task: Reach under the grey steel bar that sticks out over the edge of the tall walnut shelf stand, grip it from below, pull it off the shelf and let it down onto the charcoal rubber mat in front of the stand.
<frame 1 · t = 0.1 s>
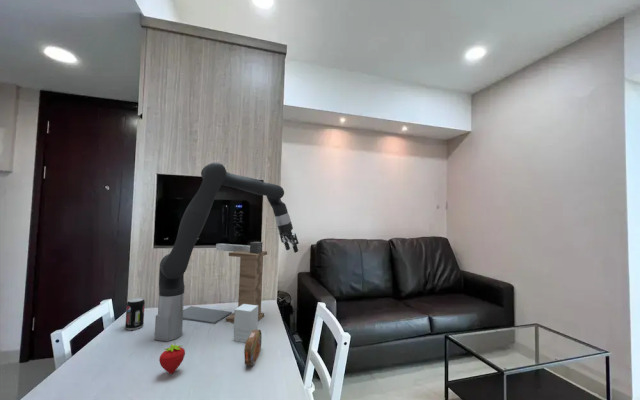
hand: (292, 250, 148), 31 cm above the table, tool tilted 20°, fingers open, 8 cm apart
charcoal mat: (202, 315, 136), on the table
supplement box: (245, 338, 114), on the table
strawberry: (171, 374, 88), on the table
walnut shelf stand: (245, 318, 133), on the table
tin: (252, 358, 99), on the table
beverage can: (134, 328, 120), on the table
steel bar: (238, 251, 136), point 32 cm above the table, touching walnut shelf stand
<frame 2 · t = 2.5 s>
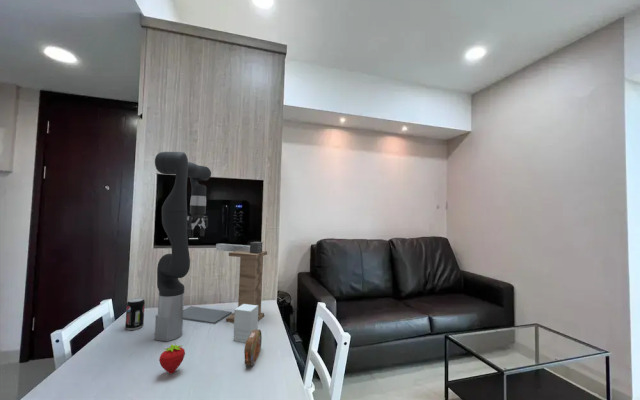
hand: (196, 236, 142), 38 cm above the table, tool pointing down, fingers open, 8 cm apart
nothing on the table moved.
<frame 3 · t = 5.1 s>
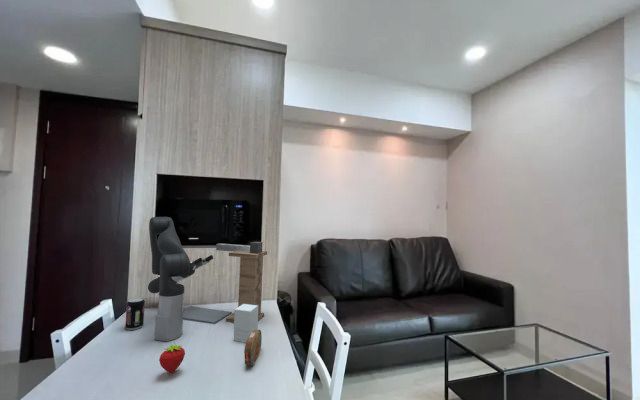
hand: (207, 258, 140), 27 cm above the table, tool pointing upward, fingers open, 8 cm apart
nothing on the table moved.
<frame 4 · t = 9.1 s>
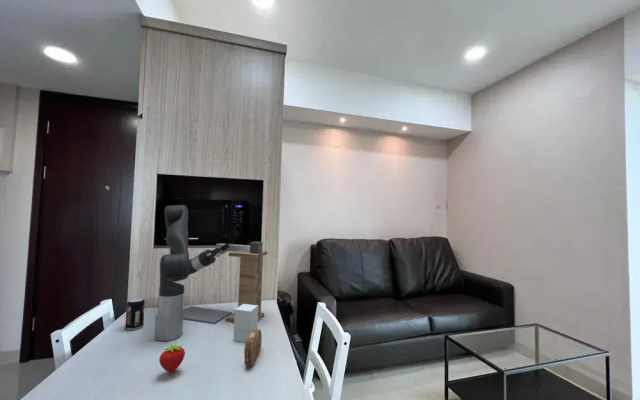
hand: (230, 244, 137), 35 cm above the table, tool pointing upward, fingers closed on steel bar, 3 cm apart
steel bar: (238, 251, 136), point 32 cm above the table, touching gripper, walnut shelf stand
everything else where it was.
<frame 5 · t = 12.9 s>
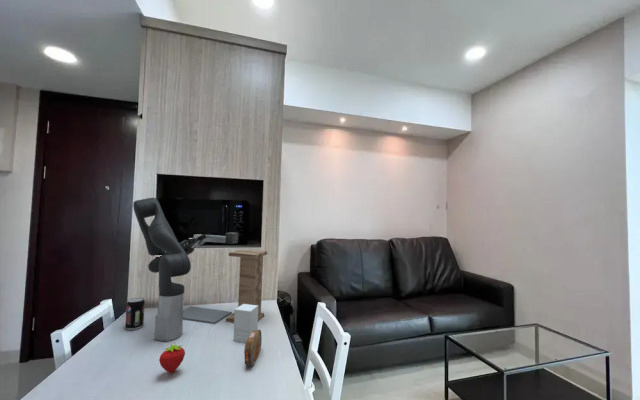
hand: (207, 235, 141), 39 cm above the table, tool pointing upward, fingers closed on steel bar, 3 cm apart
steel bar: (214, 241, 139), point 36 cm above the table, touching gripper
everything else where it was.
when the fingers open (25 cm above the table, at t = 16.9 s): steel bar drops 22 cm, resting on charcoal mat.
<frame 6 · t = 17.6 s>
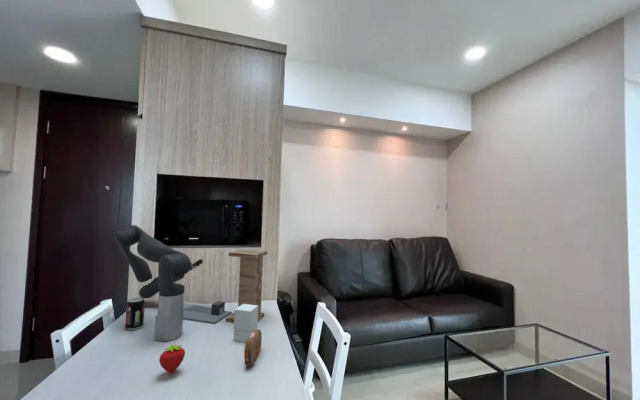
hand: (196, 262, 141), 25 cm above the table, tool pointing upward, fingers open, 8 cm apart
steel bar: (201, 310, 140), point 1 cm above the table, touching charcoal mat
everything else where it was.
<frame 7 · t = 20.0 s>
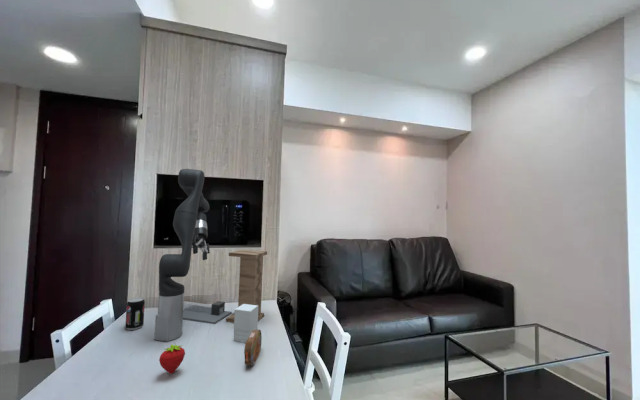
hand: (200, 256, 141), 28 cm above the table, tool tilted 40°, fingers open, 8 cm apart
nothing on the table moved.
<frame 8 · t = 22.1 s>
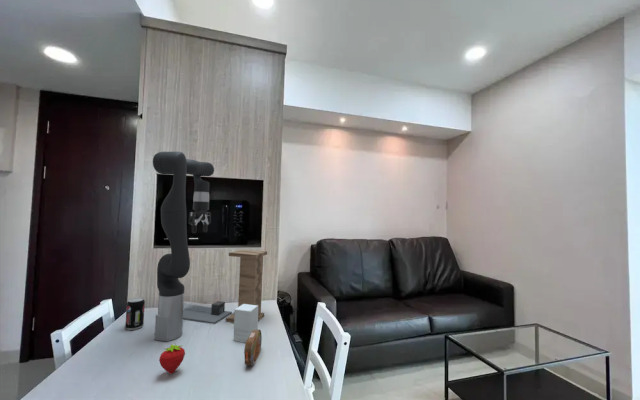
hand: (199, 232, 142), 40 cm above the table, tool pointing down, fingers open, 8 cm apart
nothing on the table moved.
at the end: steel bar inside the target area (2.8 cm from its centre), point 0.8 cm above the table; steel bar touching charcoal mat; the gripper is holding nothing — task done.
